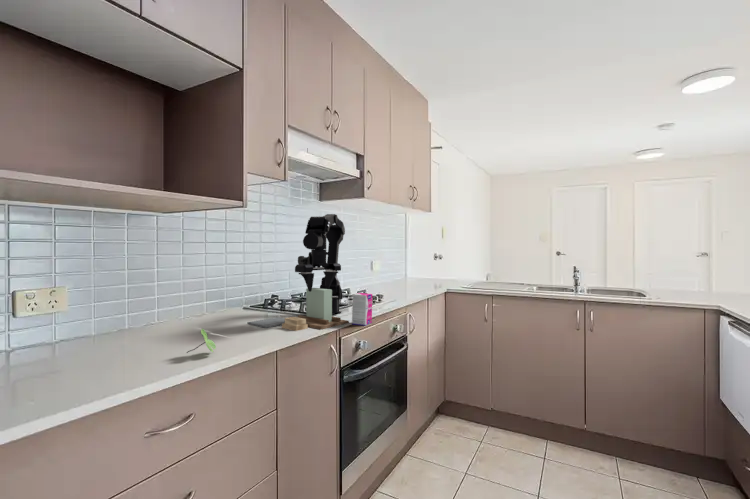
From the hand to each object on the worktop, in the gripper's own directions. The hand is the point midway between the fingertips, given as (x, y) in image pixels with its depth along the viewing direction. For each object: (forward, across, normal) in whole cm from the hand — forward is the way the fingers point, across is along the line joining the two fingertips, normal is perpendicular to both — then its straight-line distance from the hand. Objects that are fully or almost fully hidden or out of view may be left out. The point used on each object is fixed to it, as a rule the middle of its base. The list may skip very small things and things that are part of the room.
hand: (318, 290), depth 146 cm
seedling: (+13, +51, +4) cm, 53 cm away
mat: (+12, +11, -14) cm, 22 cm away
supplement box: (+13, -9, +14) cm, 21 cm away
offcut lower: (+13, +11, 0) cm, 17 cm away
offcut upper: (+11, +11, 0) cm, 16 cm away
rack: (+12, 0, 0) cm, 12 cm away
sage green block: (+11, 0, 0) cm, 11 cm away
